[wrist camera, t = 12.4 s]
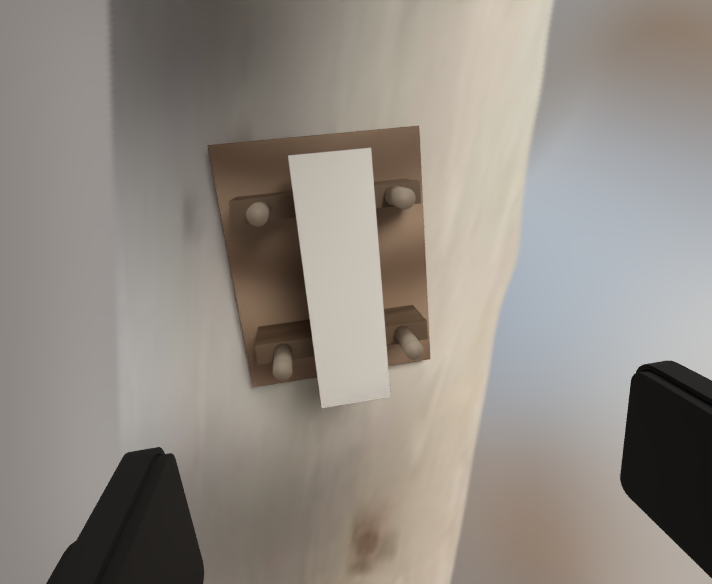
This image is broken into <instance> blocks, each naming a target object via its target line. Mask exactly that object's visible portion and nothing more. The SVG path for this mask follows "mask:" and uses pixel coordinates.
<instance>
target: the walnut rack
mask: <svg viewBox="0 0 712 584" xmlns="http://www.w3.org/2000/svg"><path fill="white" fill-rule="evenodd" d="M363 148H371V153H372V166H373V179H374V192H375V205H376V217H377V230H378V243H379V256H380V269H381V282H382V294H383V307H384V320H385V333H386V346H387V359H388V366H389V365H396V364H402V363H408V362H415V361H421V360H427V359H430V343H429V322H428V301H427V280H426V260H425V239H424V218H423V197H422V176H421V155H420V135H419V126H411V127H400V128H389V129H378V130H368V131H357V132H346V133H335V134H325V135H314V136H303V137H292V138H281V139H271V140H260V141H249V142H238V143H227V144H217V145H208V150H209V156H210V161H211V166H212V172H213V177H214V182H215V188H216V193H217V198H218V204H219V209H220V214H221V220H222V225H223V230H224V236H225V241H226V246H227V252H228V257H229V262H230V267H231V273H232V278H233V283H234V289H235V294H236V299H237V305H238V310H239V315H240V321H241V326H242V331H243V337H244V342H245V347H246V353H247V358H248V363H249V369H250V374H251V379H252V385H253V387H257V386H263V385H269V384H275V383H282V382H288V381H294V380H301V379H307V378H313V377H317V371H316V363H315V356H314V348H313V341H312V333H311V326H310V318H309V311H308V303H307V296H306V288H305V281H304V273H303V266H302V258H301V251H300V243H299V236H298V228H297V221H296V213H295V206H294V198H293V191H292V183H291V176H290V168H289V161H288V156H289V155H299V154H310V153H321V152H331V151H342V150H352V149H363Z"/></svg>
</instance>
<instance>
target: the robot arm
mask: <svg viewBox="0 0 712 584" xmlns="http://www.w3.org/2000/svg"><path fill="white" fill-rule="evenodd" d="M620 475H621V476H620V480H621V484H622V487H623V489H624V491H625V493H626V494H627V495H628V496H629V498H630V499H632V501H634V502H635V503H636V504H637V505H638V506H639V507H640V508H641V509H642V510H643V511H644V512H645V513H646V514H647V515H648V516H649V517H650V518H651V519H652V520H653V521H654V522H655V523H656V524H657V525H658V526H659V527H660V528H661V529H662V530H663V531H664V532H665V533H666V534H667V535H668V536H669V537H670V538H671V539H672V540H673V541H674V542H675V543H676V544H677V545H678V546H679V547H680V548H681V549H682V550H683V551H684V552H686V553H687V554H688V556H690V557H691V558H692V559H693V560H694V561H695V562H696V563H697V564H698V565H699V566H700V567H701V568H702V569H703V570H704V571H705V572H706V573H707V574H708V575H709V576H710V577H711V578H712V381H711V380H709V379H708V378H706V377H703V376H702V375H700V374H698V373H696V372H694V371H692V370H690V369H688V368H686V367H684V366H682V365H680V364H678V363H676V362H674V361H662V362H656V363H651V364H644V365H642V366H640V367H639V368H638V369H637V371H636V374H634V375H633V377H632V379H631V386H630V395H629V403H628V413H627V421H626V431H625V439H624V448H623V457H622V466H621V474H620ZM203 582H204V566H203V560H202V557H201V553H200V549H199V545H198V542H197V538H196V534H195V530H194V527H193V523H192V519H191V515H190V512H189V508H188V504H187V500H186V497H185V493H184V489H183V485H182V482H181V478H180V474H179V470H178V467H177V463H176V459H175V457H174V455H173V454H172V453H169V454H165V453H164V451H163V450H162V448H160V447H157V448H151V449H145V450H139V451H133V452H128V453H126V454H125V455H124V456H123V458H122V460H121V461H120V463H119V465H118V467H117V469H116V471H115V472H114V474H113V476H112V478H111V480H110V481H109V483H108V485H107V487H106V489H105V490H104V492H103V494H102V496H101V497H100V499H99V501H98V503H97V505H96V507H95V508H94V510H93V512H92V514H91V515H90V517H89V519H88V521H87V523H86V524H85V526H84V528H83V530H82V532H81V534H80V535H79V537H78V539H77V541H75V542H74V543H72V544H71V545H70V546H69V547H68V548H67V550H66V551H65V552H64V554H63V555H62V557H61V559H60V561H59V563H58V564H57V566H56V568H55V569H54V571H53V573H52V575H51V576H50V578H49V580H48V582H47V583H46V584H203Z"/></svg>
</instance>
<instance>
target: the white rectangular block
mask: <svg viewBox="0 0 712 584" xmlns="http://www.w3.org/2000/svg"><path fill="white" fill-rule="evenodd" d="M288 161H289V168H290V176H291V183H292V191H293V198H294V206H295V213H296V221H297V228H298V236H299V243H300V251H301V258H302V266H303V273H304V281H305V288H306V296H307V303H308V311H309V318H310V326H311V333H312V341H313V348H314V356H315V363H316V371H317V378H318V385H319V392H320V400H321V407H322V408H326V407H332V406H339V405H345V404H351V403H357V402H363V401H369V400H375V399H381V398H387V397H390V384H389V372H388V359H387V346H386V333H385V320H384V307H383V294H382V282H381V269H380V256H379V243H378V230H377V217H376V205H375V192H374V179H373V166H372V153H371V148H363V149H352V150H342V151H331V152H321V153H310V154H299V155H289V156H288Z"/></svg>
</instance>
